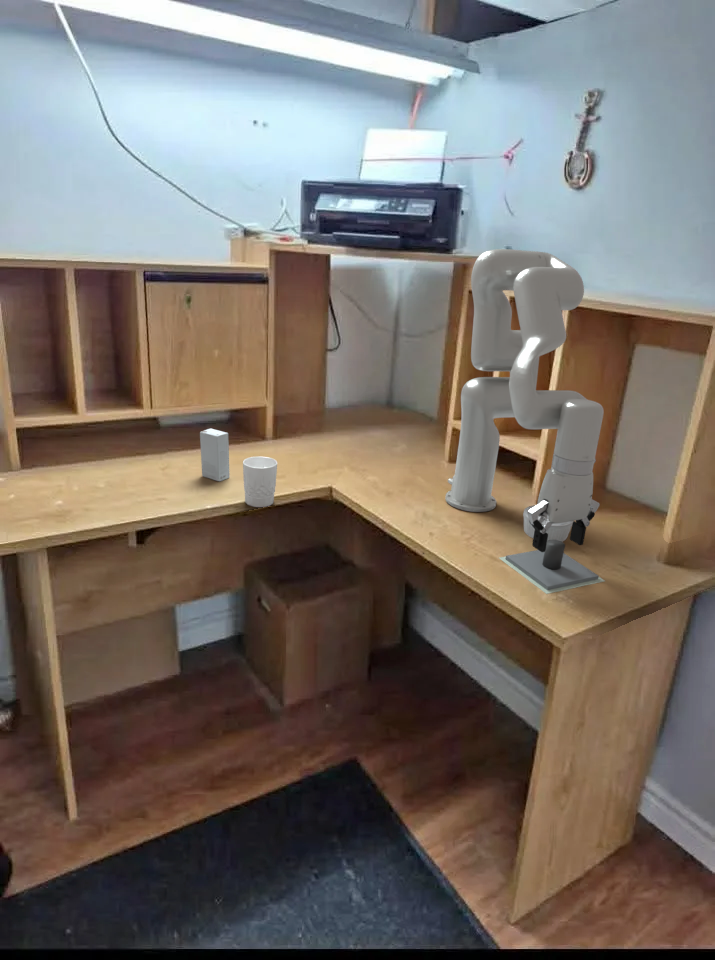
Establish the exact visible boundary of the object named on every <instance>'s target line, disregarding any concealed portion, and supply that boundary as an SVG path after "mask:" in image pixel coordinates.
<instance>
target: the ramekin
mask: <svg viewBox="0 0 715 960" xmlns="http://www.w3.org/2000/svg"><path fill="white" fill-rule="evenodd" d="M536 505H537V504H535V505H534V504H533V505H530V506H529V505H528V506H527V507H526V508H524V509H523V515H522V517H523V531H524V533H525V534H526V535H527V536H528V537H530V538H532V539H533V537H534V531H535V529H534V528H533V527H532V525H531V524H530V522H529V517H528V514H527V512H528V511H529V510H530V509H532V508H533V507H535V506H536ZM538 517H539V516H538ZM547 517H548V518H549V516H547ZM545 523H546V521H545V520H544V521H543V522H542V525H544V524H545ZM572 524H573V521H569V522H563V523H555V524H552V525H551V526H550V528H549V529H548V530H547V531H546V533H548V539H547V541H548V540H559V541H561V542H564V541H566V540H567V538H568V536H569V534H570V533H571V529H572Z"/></svg>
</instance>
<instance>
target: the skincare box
mask: <svg viewBox="0 0 715 960" xmlns="http://www.w3.org/2000/svg"><path fill="white" fill-rule="evenodd" d="M199 439H200V441H199V443H200V458H201V459H200V460H201V461H200V462H201V476H202V477H204V478H207V479H210V480H213V481H217V482H223V481H225V480H228V479H229V478H230V475H231V474H230V453H229V451H230V450H229V449H230V447H229V444H230V443H229V433H228V432H225V431H222V430H218V429H214V428H207V429H204V430H202V431H200V432H199Z"/></svg>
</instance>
